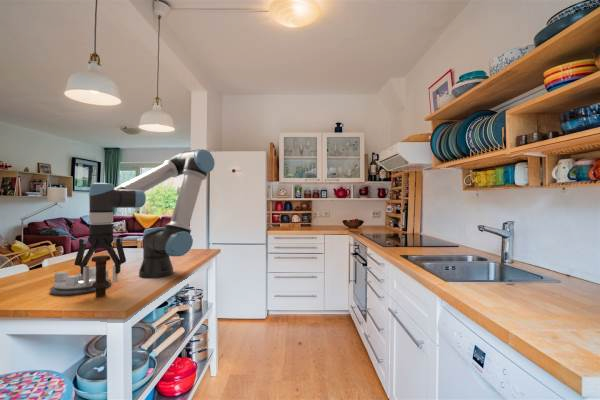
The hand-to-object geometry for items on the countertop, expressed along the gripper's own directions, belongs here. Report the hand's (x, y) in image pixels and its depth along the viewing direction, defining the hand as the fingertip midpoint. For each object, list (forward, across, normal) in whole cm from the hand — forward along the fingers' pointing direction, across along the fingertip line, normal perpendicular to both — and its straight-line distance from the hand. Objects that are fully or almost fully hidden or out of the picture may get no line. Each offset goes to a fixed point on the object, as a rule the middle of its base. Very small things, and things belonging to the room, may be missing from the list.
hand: (100, 282), depth 108 cm
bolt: (+5, 0, 0) cm, 5 cm away
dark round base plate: (+5, +12, -13) cm, 18 cm away
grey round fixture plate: (+3, +12, -13) cm, 18 cm away
